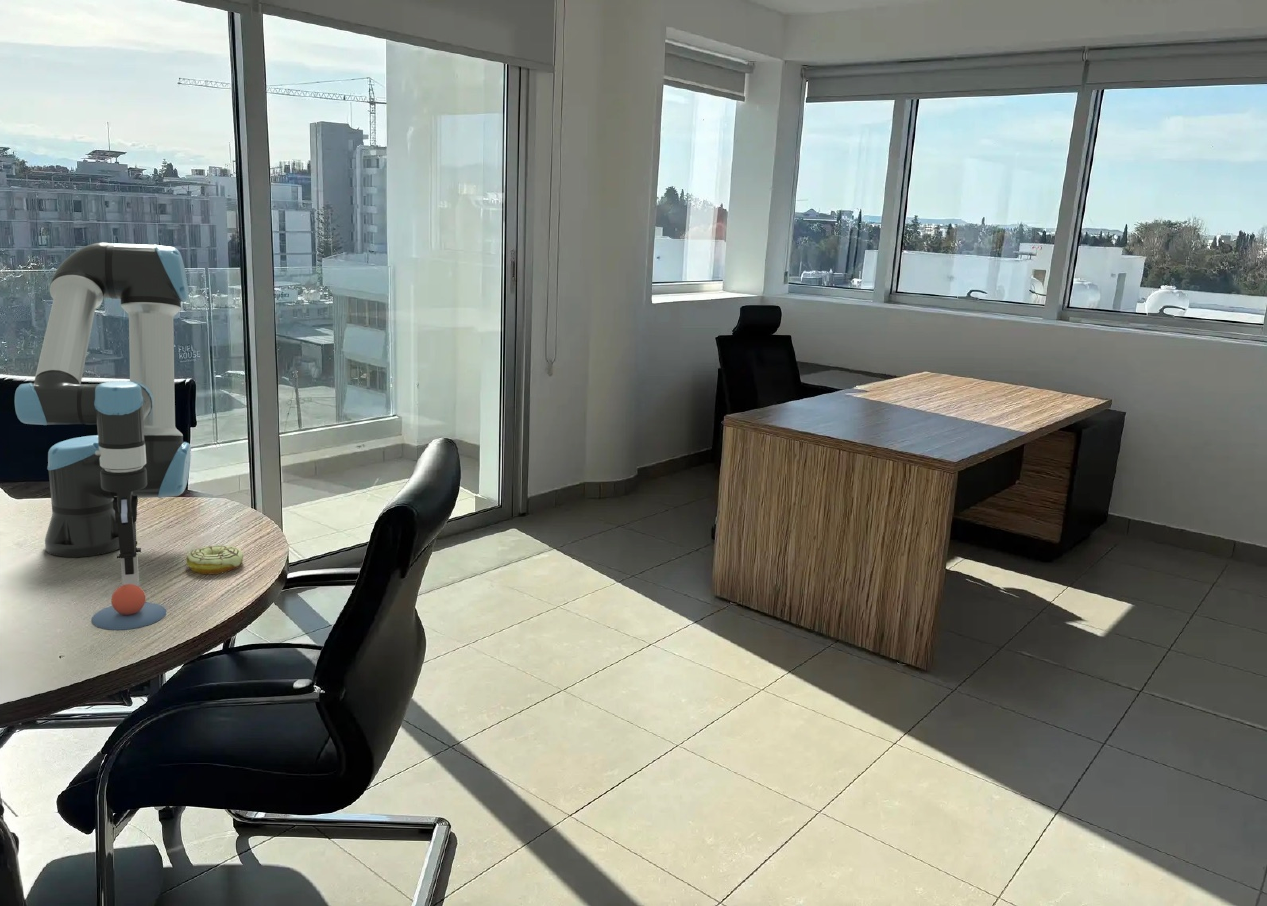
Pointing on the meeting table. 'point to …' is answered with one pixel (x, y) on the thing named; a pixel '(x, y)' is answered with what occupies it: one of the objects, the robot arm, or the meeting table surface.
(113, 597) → the ball
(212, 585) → the meeting table surface
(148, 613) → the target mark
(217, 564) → the decorated donut
